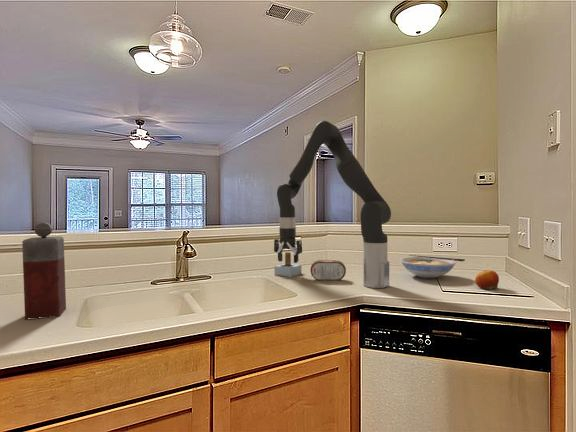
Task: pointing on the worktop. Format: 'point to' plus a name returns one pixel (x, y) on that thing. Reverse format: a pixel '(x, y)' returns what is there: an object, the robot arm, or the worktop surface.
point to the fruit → (487, 279)
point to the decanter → (44, 274)
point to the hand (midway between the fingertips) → (288, 262)
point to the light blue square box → (287, 270)
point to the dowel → (288, 259)
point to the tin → (328, 270)
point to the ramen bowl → (429, 265)
